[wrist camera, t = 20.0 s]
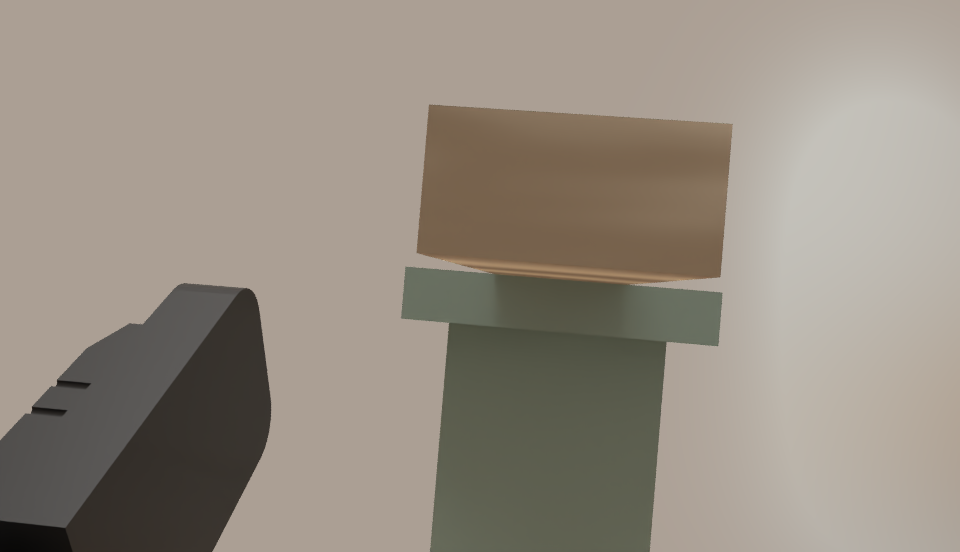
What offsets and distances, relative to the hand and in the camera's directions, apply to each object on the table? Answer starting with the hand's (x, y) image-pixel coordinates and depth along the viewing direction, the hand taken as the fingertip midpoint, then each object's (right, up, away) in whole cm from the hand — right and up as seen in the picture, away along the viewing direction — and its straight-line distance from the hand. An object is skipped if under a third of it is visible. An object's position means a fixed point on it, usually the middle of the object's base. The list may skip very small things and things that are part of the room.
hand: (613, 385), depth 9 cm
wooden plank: (+1, +1, +19) cm, 19 cm away
